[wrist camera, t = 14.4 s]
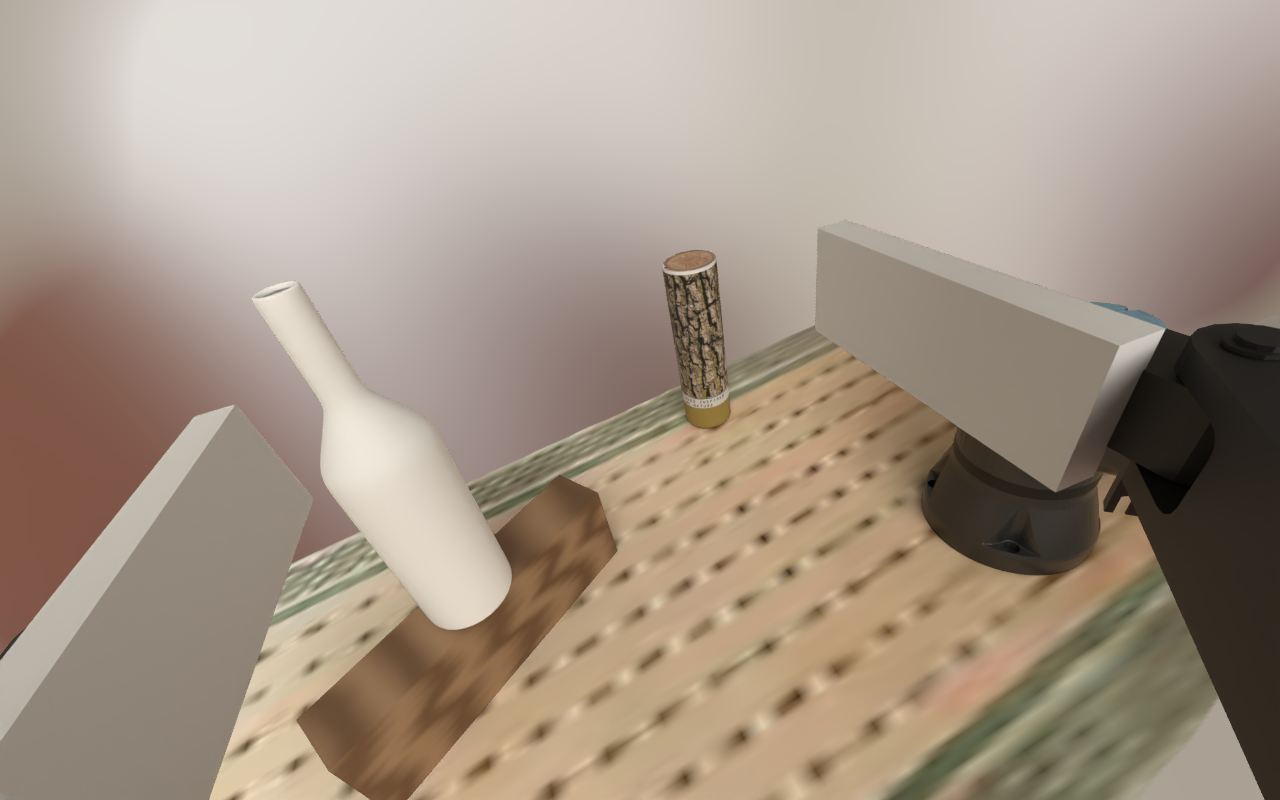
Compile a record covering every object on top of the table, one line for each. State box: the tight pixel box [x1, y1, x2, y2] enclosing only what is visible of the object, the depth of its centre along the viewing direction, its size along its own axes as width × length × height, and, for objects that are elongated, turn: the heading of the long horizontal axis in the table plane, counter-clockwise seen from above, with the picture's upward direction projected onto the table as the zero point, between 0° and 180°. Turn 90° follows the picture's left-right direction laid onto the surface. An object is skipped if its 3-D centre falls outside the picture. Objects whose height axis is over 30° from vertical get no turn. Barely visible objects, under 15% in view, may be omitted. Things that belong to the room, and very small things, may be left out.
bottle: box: [252, 281, 512, 630], centre depth 37 cm, size 8×8×30 cm
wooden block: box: [296, 475, 617, 800], centre depth 49 cm, size 30×6×10 cm, turn 143°
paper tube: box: [662, 250, 730, 428], centre depth 69 cm, size 7×7×25 cm
